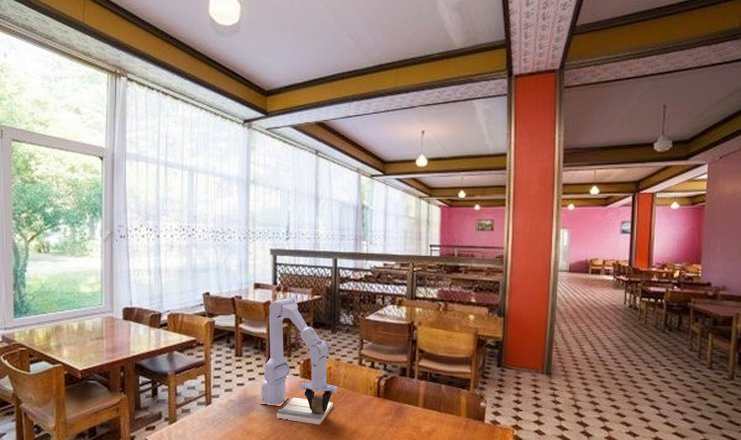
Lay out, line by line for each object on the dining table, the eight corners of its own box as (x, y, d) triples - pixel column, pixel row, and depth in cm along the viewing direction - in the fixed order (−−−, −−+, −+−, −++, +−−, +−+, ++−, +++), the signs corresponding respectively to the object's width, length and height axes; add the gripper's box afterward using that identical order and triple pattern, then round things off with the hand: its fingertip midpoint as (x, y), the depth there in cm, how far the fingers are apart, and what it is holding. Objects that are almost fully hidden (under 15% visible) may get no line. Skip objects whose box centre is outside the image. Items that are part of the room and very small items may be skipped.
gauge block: (311, 415, 129) (311, 399, 130) (315, 409, 133) (315, 394, 133) (321, 416, 128) (321, 400, 129) (325, 411, 132) (325, 395, 132)
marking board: (276, 418, 130) (276, 411, 130) (293, 401, 143) (293, 395, 143) (319, 424, 125) (319, 417, 125) (332, 406, 139) (332, 400, 139)
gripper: (297, 376, 129) (297, 412, 129) (332, 380, 126) (332, 417, 125) (305, 369, 136) (304, 403, 135) (338, 372, 133) (338, 407, 132)
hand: (318, 409), depth 131 cm, fingers open, 5 cm apart
